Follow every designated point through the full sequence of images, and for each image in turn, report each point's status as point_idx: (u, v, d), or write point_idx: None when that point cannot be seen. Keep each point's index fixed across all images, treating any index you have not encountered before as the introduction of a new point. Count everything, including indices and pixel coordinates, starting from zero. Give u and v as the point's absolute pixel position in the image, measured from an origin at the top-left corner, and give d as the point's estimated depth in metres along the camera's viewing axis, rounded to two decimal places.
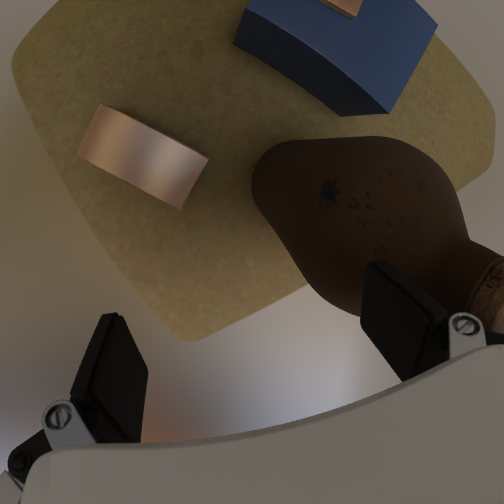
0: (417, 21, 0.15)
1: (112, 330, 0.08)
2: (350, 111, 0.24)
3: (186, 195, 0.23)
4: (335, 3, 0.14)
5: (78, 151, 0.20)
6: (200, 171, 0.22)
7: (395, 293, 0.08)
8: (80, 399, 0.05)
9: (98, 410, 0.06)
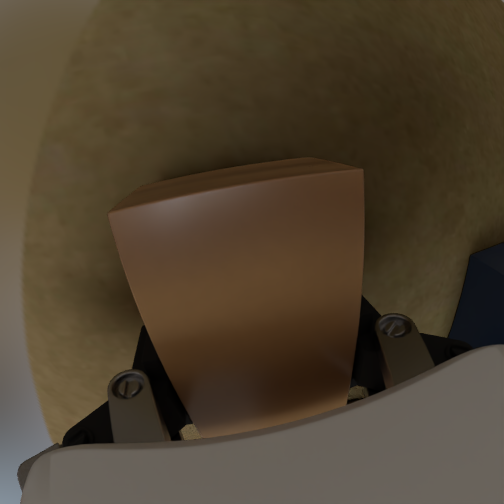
0: None
1: None
2: None
3: None
4: None
5: (128, 216, 0.05)
6: None
7: None
8: (151, 366, 0.07)
9: (167, 377, 0.07)
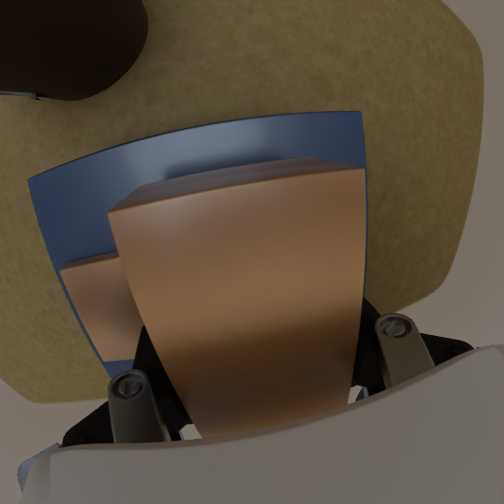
0: None
1: None
2: None
3: None
4: (98, 265, 0.10)
5: (128, 216, 0.05)
6: None
7: None
8: (151, 366, 0.07)
9: (167, 377, 0.07)
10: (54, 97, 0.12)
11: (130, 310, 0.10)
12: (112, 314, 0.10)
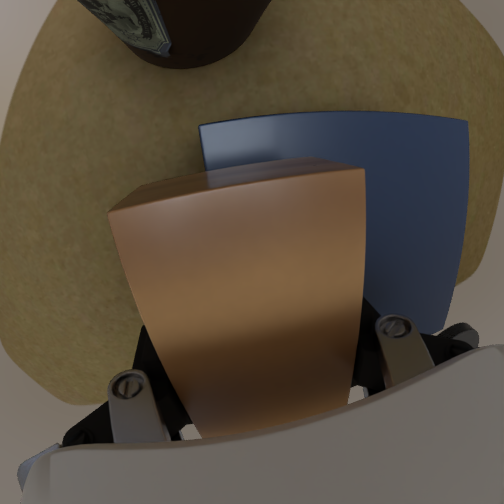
0: None
1: None
2: None
3: None
4: None
5: (128, 216, 0.05)
6: None
7: None
8: (151, 366, 0.07)
9: (167, 377, 0.07)
10: (168, 58, 0.12)
11: None
12: None
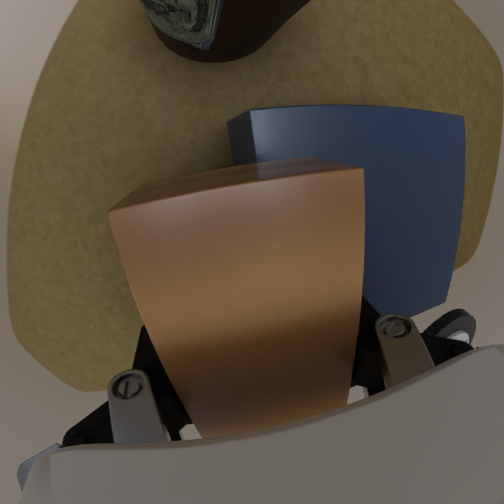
0: None
1: None
2: None
3: None
4: None
5: (128, 215, 0.05)
6: None
7: None
8: (151, 366, 0.07)
9: (167, 377, 0.07)
10: (203, 51, 0.14)
11: None
12: None
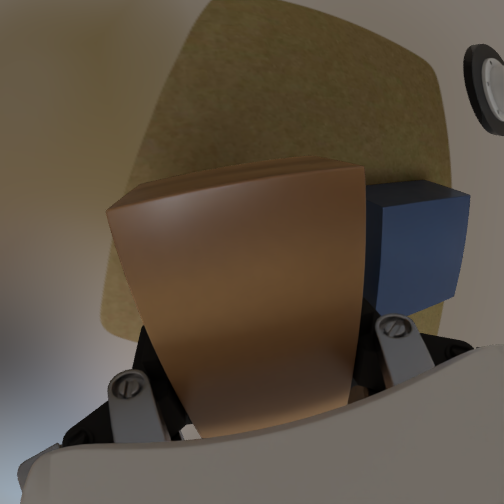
0: (445, 287, 0.29)
1: None
2: None
3: None
4: None
5: (127, 214, 0.05)
6: None
7: None
8: (151, 366, 0.07)
9: (167, 377, 0.07)
10: None
11: None
12: None
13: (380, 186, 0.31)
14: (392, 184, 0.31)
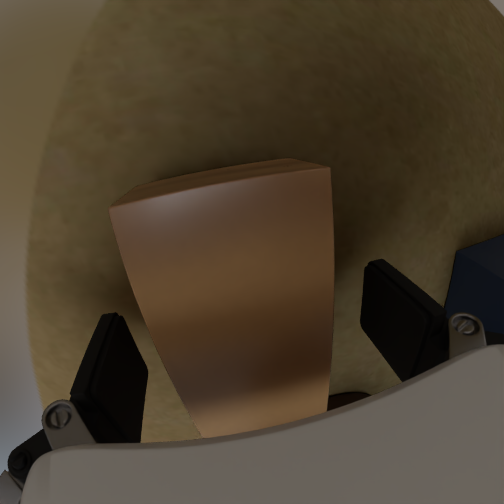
0: None
1: (112, 330, 0.08)
2: None
3: None
4: None
5: (125, 210, 0.06)
6: None
7: (395, 293, 0.08)
8: (80, 399, 0.05)
9: (98, 410, 0.06)
10: None
11: None
12: None
13: None
14: None
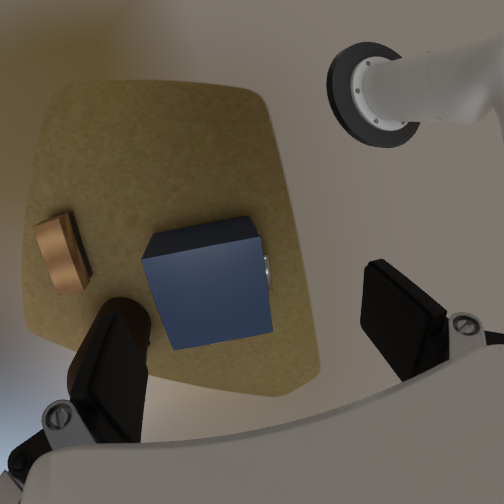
0: (252, 323, 0.36)
1: (112, 330, 0.08)
2: None
3: (65, 293, 0.34)
4: None
5: (35, 227, 0.30)
6: (77, 291, 0.35)
7: (395, 293, 0.08)
8: (80, 399, 0.05)
9: (98, 410, 0.06)
10: (149, 334, 0.41)
11: None
12: None
13: (185, 230, 0.38)
14: (201, 226, 0.38)
